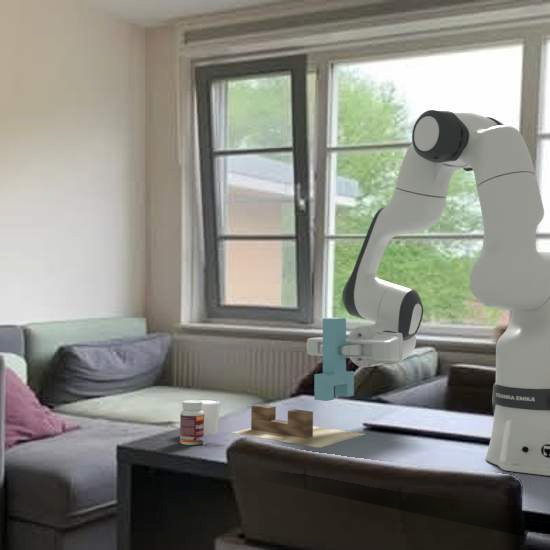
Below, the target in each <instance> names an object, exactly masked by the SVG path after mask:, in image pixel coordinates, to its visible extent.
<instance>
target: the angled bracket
mask: <svg viewBox="0 0 550 550" xmlns="http://www.w3.org/2000/svg"><path fill="white" fill-rule="evenodd" d="M322 337H323V356H322V372H320V373H316V374H314V379H313V380H314V382H313V383H314V385H313V388H314V389H313V390H314V391H313V392H314V400H315V401H323V402H329V401H333V400H335V396H336V397H345V398H349V397H353V396H354V395H355V371H353V370H347V357H346V355H339V353H338V351H339V350H338V348H339V346H346V338H347V318H346V317H344V318H343V317H328V318H327V317H326V318H322Z"/></svg>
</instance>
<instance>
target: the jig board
mask: <svg viewBox="0 0 550 550" xmlns="http://www.w3.org/2000/svg"><path fill="white" fill-rule="evenodd" d="M276 408H277V406H274V405H268V404H260V403H259V404H254V405H253V404H252V405H251V408H250V409H251V412H250V413H251V414H250V415H251V417H250V418H251V419H250V420H251V423H250V428H243V429H241V430H236V431H231V433H232V434H235V435H236V434H237V435H242V436H248V437H255V438H259V439H266V440H271V441H272V440H273V441H277V442H284V443H290V444H295V445H301V446H306V447H312V448H318V449H319V448H320V449H321V448H325V447H328V446H331V445H335V444H339V443H341V442H345V441H349V440H352V439H355V438H359V437H363V436H366V435H367V434H366V433H363V432H362V433H361V432H356V431H355V432H354V431H348V430H342V429H341V430H340V429H335V428H329V427H321V426H315V425H314V411H311V410H303V409H297V408H294V409H289V410H287V420H280V419H276V416H277V413H276V411H277V409H276Z"/></svg>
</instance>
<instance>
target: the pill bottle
mask: <svg viewBox="0 0 550 550" xmlns="http://www.w3.org/2000/svg"><path fill="white" fill-rule="evenodd" d="M198 400H199V399H188V400H187V399H186V400H183V401H182V404H181V405H182V410H181V411H180V414H179V417H180V419H179V420H180V421H179V428H180V431H179V441H180V444H182V445H187V446H198V445H202V444H204V440H202V439H197V438H203V437H205V436H204V412H203V411H202V410H201V409H202V401H198Z"/></svg>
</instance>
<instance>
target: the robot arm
mask: <svg viewBox="0 0 550 550" xmlns="http://www.w3.org/2000/svg"><path fill="white" fill-rule="evenodd" d="M411 142H412V143H411V144H409V145H410V146H408V148H407V150H406V152H405V155H404V157H403V160H402V162H401V165H400V169H399V172H398V174H397V178H396V183H395V187H394V191H393V194H392V196H391V199H390V200H389V202H388V203H387V205H385V206H384V207H381V208H379V209H378V210H377V211H376V213H375V214H374V217H373V218H372V220H371V222H370V224H369V225H370V226H369V227H368V229H367V232H366V235H365V238H364V240H363V243H362V247H361V249H360V251H359V253H358V256H357V259H356V261H355V265H354V267H353V269H352V272H351V273H350V276H349V278H348V279H347V281H346V283H345V285H344V287H343V288H342V289H343V290H342V294H341V299H342V302H343V305H344V308H345V310H346V312H347V313H348V314H349V315H350V316H352V317H355V318H361V319H364V320H368V321H371V322H374V324H370V325H360V326H357V327H355V328H353V329H352V330H351V331H350V332H349V334H348V336H347V337H346V346H339V348H338V350H339V351H338V353H339V355H346V358H348V359H350V361H351V362H352V363H353V364H355V365H356V366H358V367H360V368H369V367H375V366H376V367H377V366H381V365H389V364H392V365H393V364H394V365H395V364H396V365H397V364H402V363H403V360H404V359H406V358H408V357H409V356H410V355H411V354H412V353H413V351H414V350H415V349H416V346H417V345H416V344H417V337H416V334H417V333H418V331H419V329H420V326H421V323H422V320H423V315H424V307H423V302H422V299H421V296H420V294H419V293H418V292H417V290H415V289H412V288H409V287H406V286H404V285H400V284H396V283H394V282H390V281H387V280H384V279H381V278H379V277H378V274H377V273H378V269H379V267H380V264H381V261H382V259H383V256H384V253H385V251H386V249H387V246H388V243H389V242H390V241H391V240H392V239H393V238H395V237H397V236H401V235H407V234H414V233H420V232H424V231H426V230H427V231H428V229H430V228H432V227H433V226H435V224H437V223H438V222H439V220H440V219H441V217H442V215H443V212H444V208H445V205H446V200H447V196H448V192H449V185H450V181H451V178H452V176H453V175H454V173H455V172H457V170H458V171H459V170H460V169H463V170H464V171H465V172H471V171H472V172H473V174H474V181H475V185H476V189H477V195H478V200H479V205H480V211H481V216H482V217H481V218H482V223H483V242H482V247H481V251H480V254H479V257H478V258H477V259H476V261H474V263H473V265H472V267H471V270H470V273H469V286H470V291H471V293H472V295H473V297H474V298H475V300H477V302H479V303H480V304H481V305H484V306H486V307H489V308H491V309H496V310H499V311H506V312H507V311H512V314H511V318H510V320H509V324H508V325H507V328H506V329H505V331H504V332H503V333H502V335H501V336H499V337H498V340H497V342H496V345H495V382H494V383H493V385H492V399H491V402H492V403H491V404H492V413H493V423H492V430H491V435H490V439H489V440H490V441H489V444H488V447H487V448H488V449H487V451H486V454H485V460H486V461H488V463H491V464H494V465H496V466H498V467H499V468H500V469H501V470H503V471H506V472H508V471H509V472H515V473H524V474H531V475H539V476H549V477H550V252H549V251H538V250H537V247H536V235H537V234H536V233H537V228H538V226H539V225H540V223H541V222H542V221H543V219H544V217H545V209H544V204H543V201H542V196H541V191H540V186H539V183H538V177H537V174H536V170H535V166H534V162H533V160H532V159H533V158H532V156H531V153H530V151H529V148H528V146H527V144H526V141H525V139H524V137H523V134H521V132H520V131H519V130H518V128H516V127H513V126H510V125H505V124H503V122H501V121H499V120H497V119H495V118H493V117H490V116H483V115H480V114H477V113H474V112H473V113H472V112H471V111H467V110H458V109H448V108H441V107H440V108H432V109H429V110H426V111H424V112H423V113H422V114H420V115H419V116H418V117H417V119H416V121H415V123H414V125H413V129H412V134H411ZM306 340H307V341H306V353H307V354H308V355H309V356H319V357H323V336H321V337H309V338H308V339H306Z"/></svg>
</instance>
